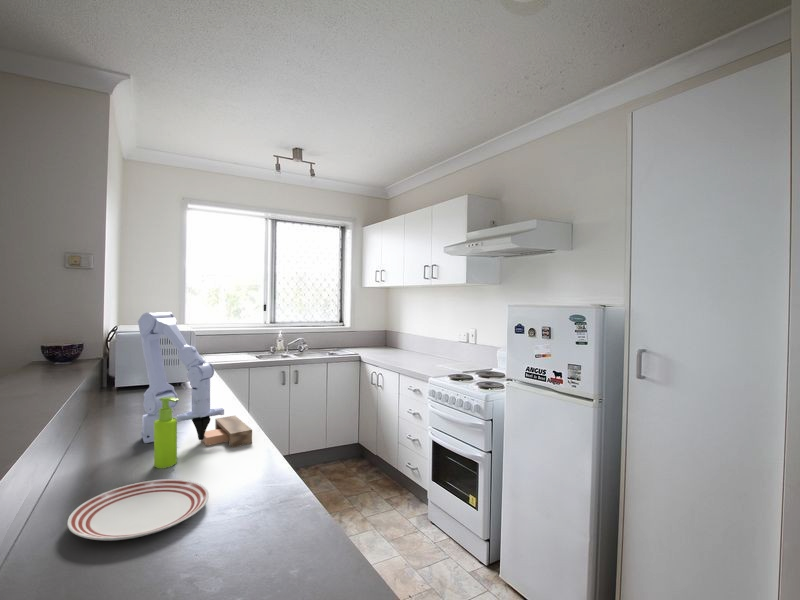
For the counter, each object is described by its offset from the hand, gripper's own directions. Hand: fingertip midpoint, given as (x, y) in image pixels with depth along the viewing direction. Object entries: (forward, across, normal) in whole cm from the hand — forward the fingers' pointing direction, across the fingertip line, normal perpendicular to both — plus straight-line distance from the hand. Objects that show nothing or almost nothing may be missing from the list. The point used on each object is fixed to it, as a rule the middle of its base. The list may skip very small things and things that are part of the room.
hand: (200, 439), depth 143 cm
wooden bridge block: (+1, +10, 0) cm, 10 cm away
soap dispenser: (+2, -12, -13) cm, 18 cm away
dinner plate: (+2, -21, -42) cm, 47 cm away
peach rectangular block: (+1, +5, 0) cm, 5 cm away
